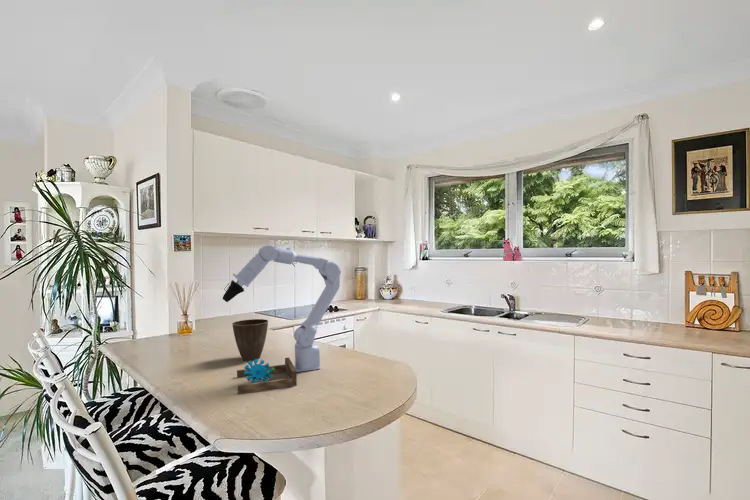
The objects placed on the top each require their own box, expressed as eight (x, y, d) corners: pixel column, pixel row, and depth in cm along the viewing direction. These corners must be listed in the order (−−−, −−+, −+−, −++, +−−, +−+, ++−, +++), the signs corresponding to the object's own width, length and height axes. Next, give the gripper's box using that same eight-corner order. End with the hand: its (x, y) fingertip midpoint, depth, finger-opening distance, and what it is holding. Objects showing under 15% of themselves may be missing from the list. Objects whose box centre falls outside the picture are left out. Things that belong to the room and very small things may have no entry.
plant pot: (225, 362, 154) (224, 324, 155) (245, 353, 169) (244, 318, 169) (257, 364, 151) (256, 325, 151) (274, 354, 166) (274, 319, 166)
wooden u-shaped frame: (289, 370, 142) (288, 357, 142) (296, 385, 126) (296, 370, 126) (237, 377, 135) (236, 363, 135) (237, 393, 119) (237, 378, 119)
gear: (247, 384, 123) (243, 358, 129) (241, 393, 126) (237, 367, 132) (278, 381, 130) (272, 357, 136) (272, 390, 132) (266, 366, 139)
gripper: (241, 264, 143) (216, 291, 139) (243, 264, 129) (215, 294, 125) (255, 276, 145) (231, 303, 141) (258, 276, 131) (231, 306, 127)
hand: (224, 299), depth 133 cm, fingers open, 7 cm apart
